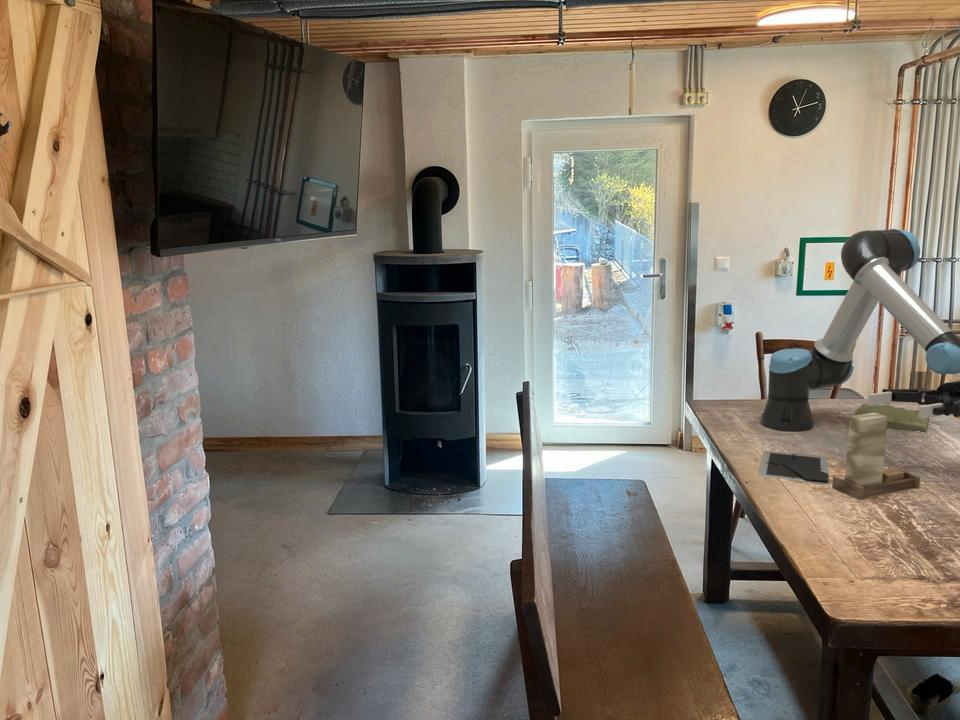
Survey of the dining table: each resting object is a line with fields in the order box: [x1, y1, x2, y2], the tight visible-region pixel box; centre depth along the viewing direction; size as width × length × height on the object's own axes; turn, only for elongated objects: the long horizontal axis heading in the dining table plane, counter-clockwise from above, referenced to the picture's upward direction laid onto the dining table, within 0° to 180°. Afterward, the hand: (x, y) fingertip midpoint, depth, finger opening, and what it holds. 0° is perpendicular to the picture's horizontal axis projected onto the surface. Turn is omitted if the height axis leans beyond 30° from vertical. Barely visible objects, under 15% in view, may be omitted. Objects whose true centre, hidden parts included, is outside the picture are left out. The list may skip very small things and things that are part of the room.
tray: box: [831, 465, 921, 501], centre depth 168 cm, size 8×18×4 cm, turn 109°
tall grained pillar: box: [844, 413, 888, 487], centre depth 165 cm, size 4×8×18 cm, turn 109°
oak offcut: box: [882, 468, 904, 483], centre depth 169 cm, size 4×5×4 cm
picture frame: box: [757, 450, 830, 485], centre depth 183 cm, size 16×3×21 cm
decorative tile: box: [853, 403, 930, 433], centre depth 224 cm, size 19×20×4 cm
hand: (894, 406), depth 168 cm, fingers open, 13 cm apart
